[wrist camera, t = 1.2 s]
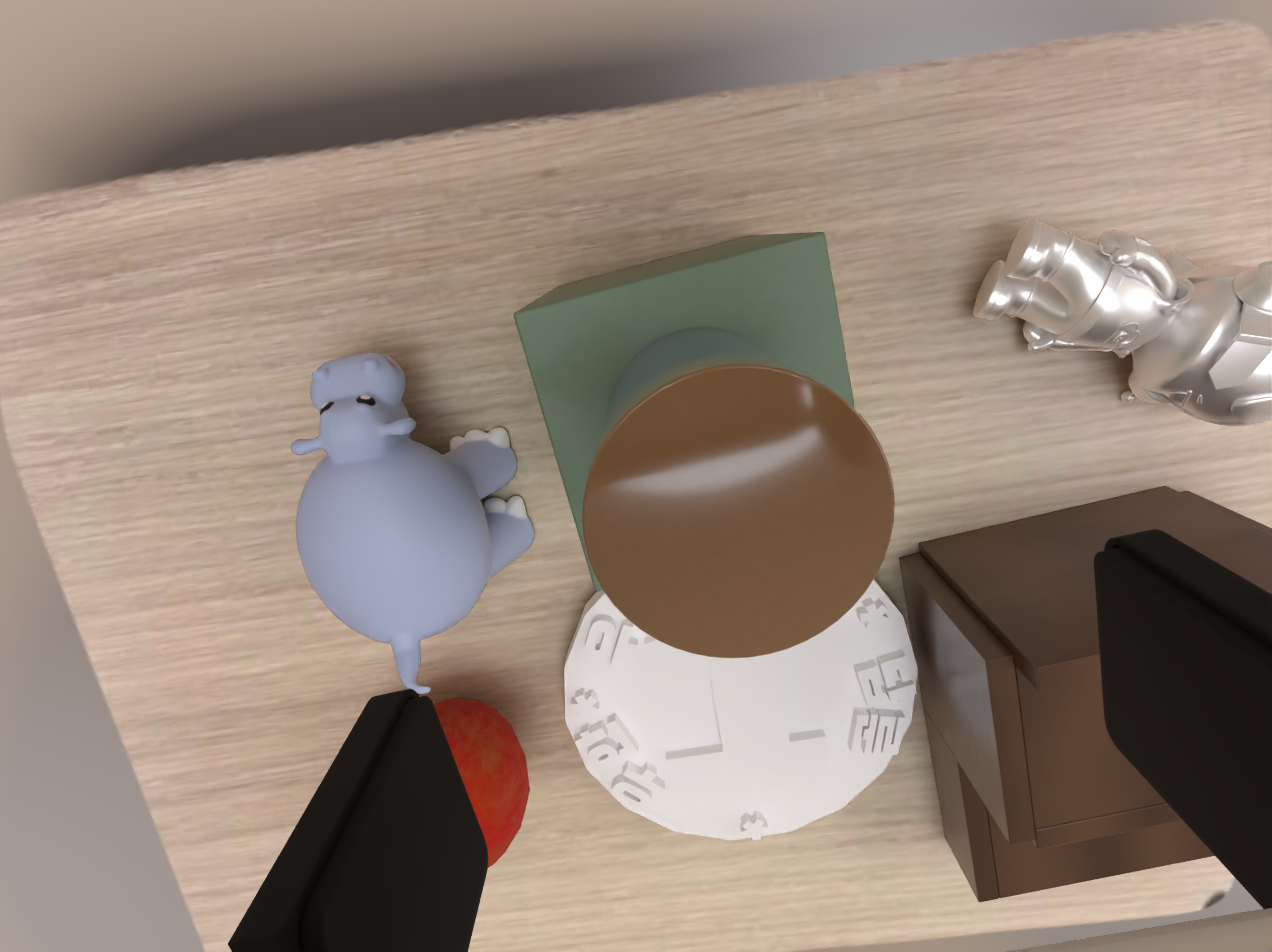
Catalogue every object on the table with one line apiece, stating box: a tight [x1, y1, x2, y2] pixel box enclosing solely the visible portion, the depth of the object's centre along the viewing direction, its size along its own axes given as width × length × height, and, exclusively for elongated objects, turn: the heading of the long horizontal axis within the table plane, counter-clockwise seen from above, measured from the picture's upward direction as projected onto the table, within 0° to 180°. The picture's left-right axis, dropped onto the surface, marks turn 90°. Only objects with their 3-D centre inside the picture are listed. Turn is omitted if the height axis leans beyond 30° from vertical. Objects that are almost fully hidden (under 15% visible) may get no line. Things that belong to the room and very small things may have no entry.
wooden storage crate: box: [899, 486, 1272, 902], centre depth 39 cm, size 16×21×13 cm
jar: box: [582, 327, 895, 658], centre depth 21 cm, size 7×7×9 cm
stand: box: [514, 232, 855, 591], centre depth 32 cm, size 10×10×15 cm
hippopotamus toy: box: [291, 353, 534, 694], centre depth 37 cm, size 11×15×10 cm
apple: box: [434, 699, 530, 867], centre depth 41 cm, size 9×8×11 cm
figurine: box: [973, 217, 1272, 426], centre depth 36 cm, size 11×7×15 cm
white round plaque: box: [564, 579, 918, 841], centre depth 44 cm, size 20×20×3 cm
